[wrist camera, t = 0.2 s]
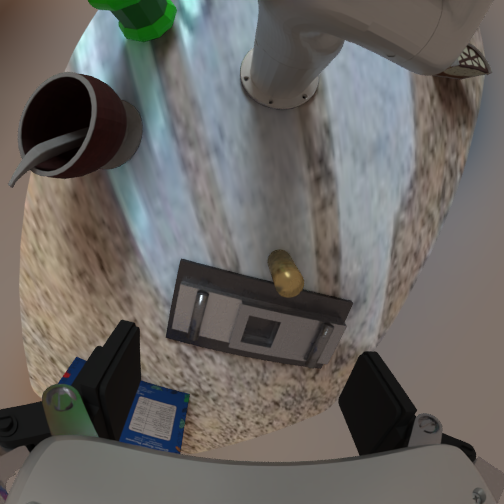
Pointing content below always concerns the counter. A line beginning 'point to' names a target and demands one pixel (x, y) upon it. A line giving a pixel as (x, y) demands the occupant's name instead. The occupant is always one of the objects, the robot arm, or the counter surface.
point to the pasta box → (149, 414)
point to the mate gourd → (75, 128)
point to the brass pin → (285, 274)
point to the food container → (467, 65)
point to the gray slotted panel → (254, 317)
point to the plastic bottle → (140, 16)
